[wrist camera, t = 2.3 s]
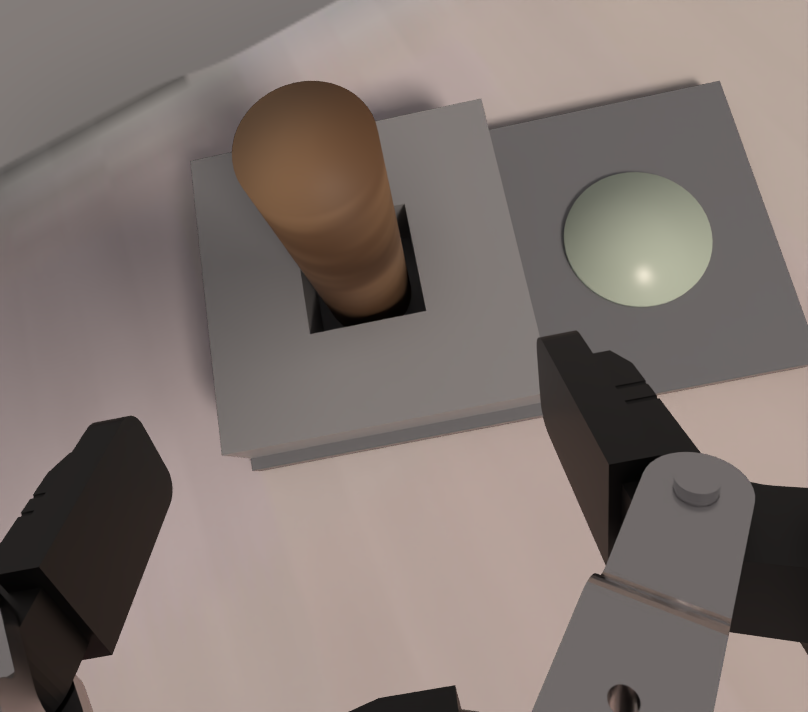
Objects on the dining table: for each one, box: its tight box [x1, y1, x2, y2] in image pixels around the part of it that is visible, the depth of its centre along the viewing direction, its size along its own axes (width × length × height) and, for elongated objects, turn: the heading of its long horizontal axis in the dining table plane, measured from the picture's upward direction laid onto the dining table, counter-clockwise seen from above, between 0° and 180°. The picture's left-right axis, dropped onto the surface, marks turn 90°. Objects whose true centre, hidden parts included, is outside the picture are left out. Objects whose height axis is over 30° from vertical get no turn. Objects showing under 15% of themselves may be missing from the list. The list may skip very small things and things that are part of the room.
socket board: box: [190, 81, 808, 471], centre depth 23 cm, size 23×13×4 cm, turn 100°
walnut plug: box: [232, 81, 411, 327], centre depth 19 cm, size 4×4×11 cm
